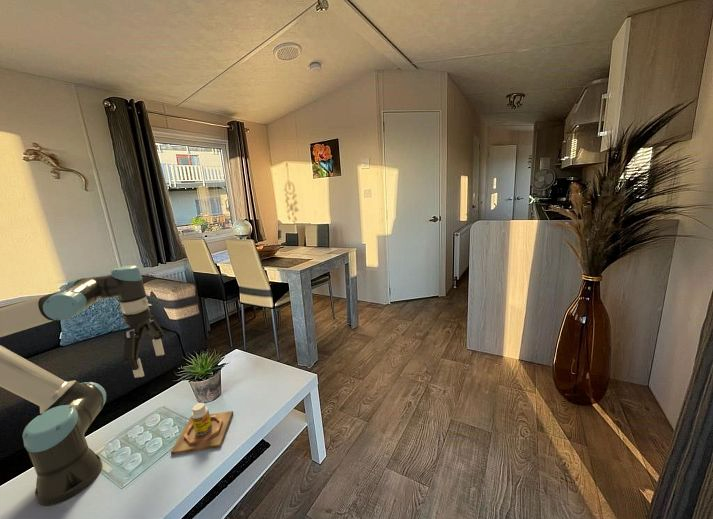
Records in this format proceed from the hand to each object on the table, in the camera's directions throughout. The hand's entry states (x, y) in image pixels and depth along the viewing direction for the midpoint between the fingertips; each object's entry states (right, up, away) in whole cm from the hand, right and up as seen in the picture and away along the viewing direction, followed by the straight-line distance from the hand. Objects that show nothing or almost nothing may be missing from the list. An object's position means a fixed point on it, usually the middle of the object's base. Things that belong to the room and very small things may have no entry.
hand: (150, 365), depth 106 cm
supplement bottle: (+18, -25, +2) cm, 31 cm away
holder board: (+18, -26, +2) cm, 32 cm away
